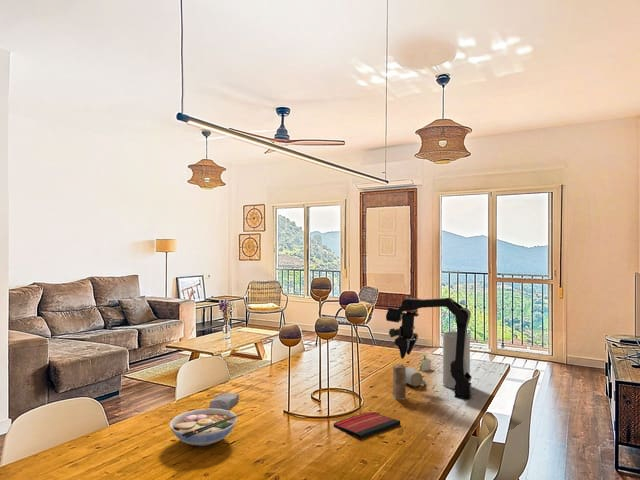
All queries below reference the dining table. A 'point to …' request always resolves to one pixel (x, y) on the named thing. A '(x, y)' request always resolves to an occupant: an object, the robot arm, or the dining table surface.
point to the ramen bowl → (203, 426)
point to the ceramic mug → (413, 377)
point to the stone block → (224, 401)
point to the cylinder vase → (452, 357)
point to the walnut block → (399, 381)
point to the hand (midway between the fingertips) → (405, 356)
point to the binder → (366, 424)
